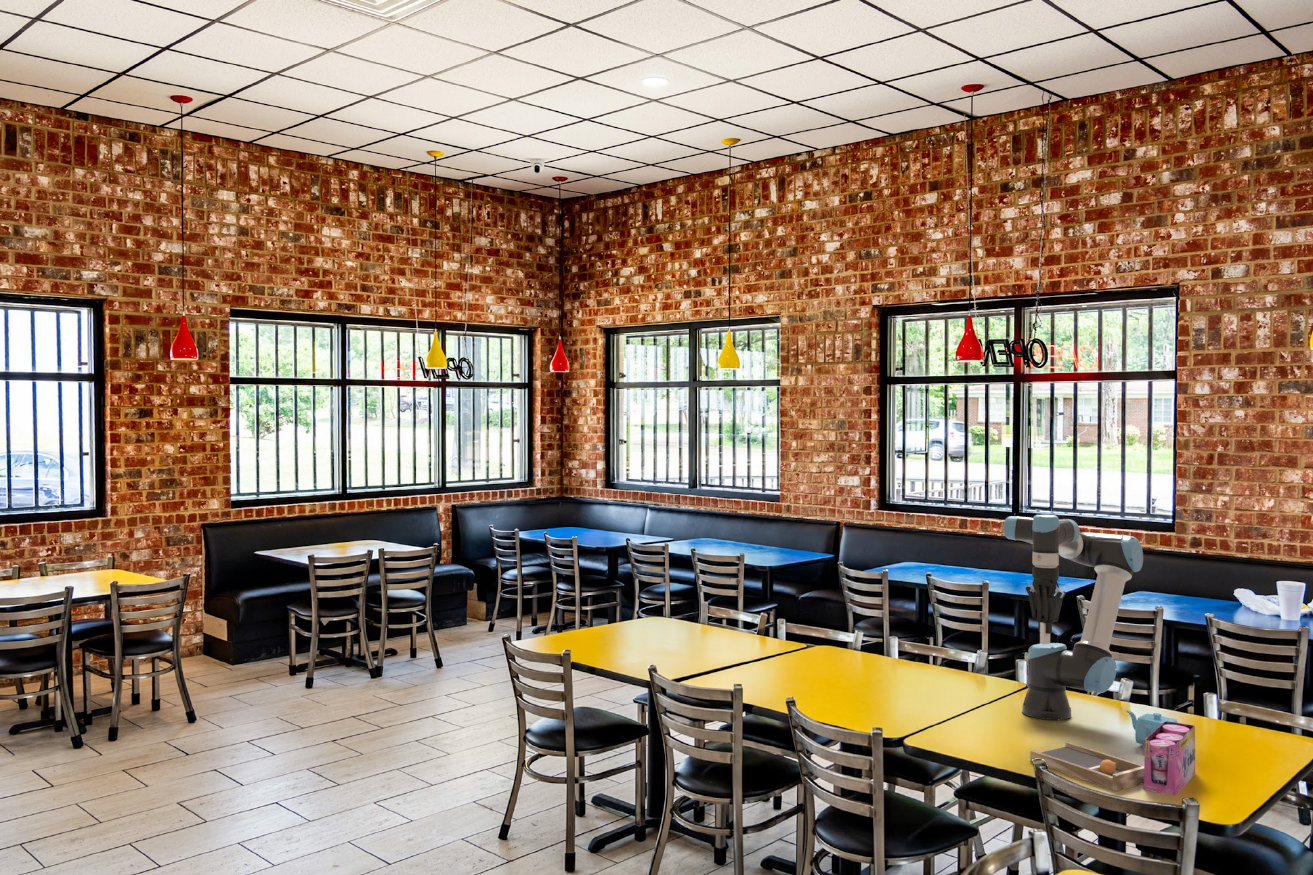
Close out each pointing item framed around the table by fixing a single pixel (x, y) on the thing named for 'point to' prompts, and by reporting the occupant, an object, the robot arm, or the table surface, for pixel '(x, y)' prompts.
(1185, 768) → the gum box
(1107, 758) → the lane rails
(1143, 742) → the teapot
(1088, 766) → the mat
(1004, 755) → the table surface
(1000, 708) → the table surface
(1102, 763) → the ball
